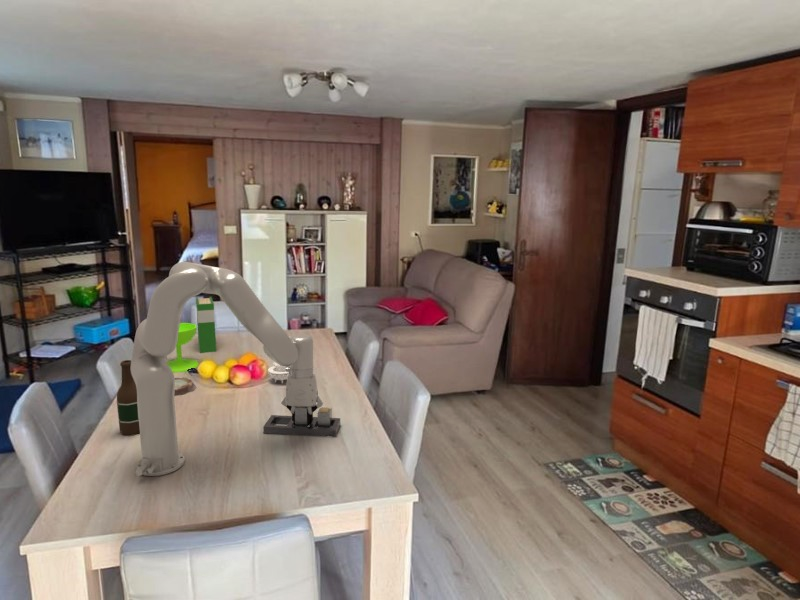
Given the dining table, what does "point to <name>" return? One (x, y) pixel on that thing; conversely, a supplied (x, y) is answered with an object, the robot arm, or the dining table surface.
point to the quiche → (183, 386)
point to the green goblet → (184, 337)
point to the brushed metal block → (301, 416)
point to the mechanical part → (278, 372)
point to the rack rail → (299, 427)
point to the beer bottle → (127, 402)
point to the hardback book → (206, 325)
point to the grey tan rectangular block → (325, 417)
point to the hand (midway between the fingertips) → (302, 422)
